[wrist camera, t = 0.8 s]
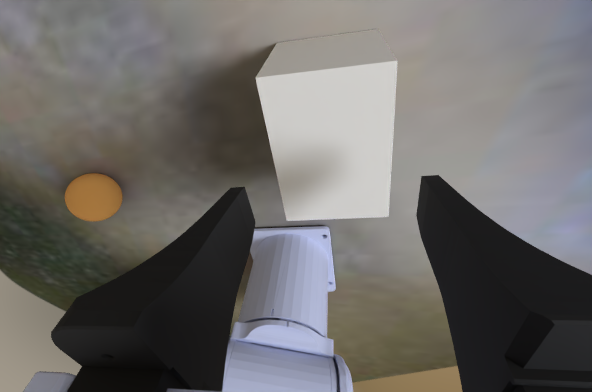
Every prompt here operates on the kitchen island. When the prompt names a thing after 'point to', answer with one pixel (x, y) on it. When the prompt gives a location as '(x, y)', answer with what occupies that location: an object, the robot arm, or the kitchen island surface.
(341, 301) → the kitchen island surface
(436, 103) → the kitchen island surface
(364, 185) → the white rectangular prism
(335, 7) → the kitchen island surface
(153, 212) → the kitchen island surface
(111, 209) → the ball
